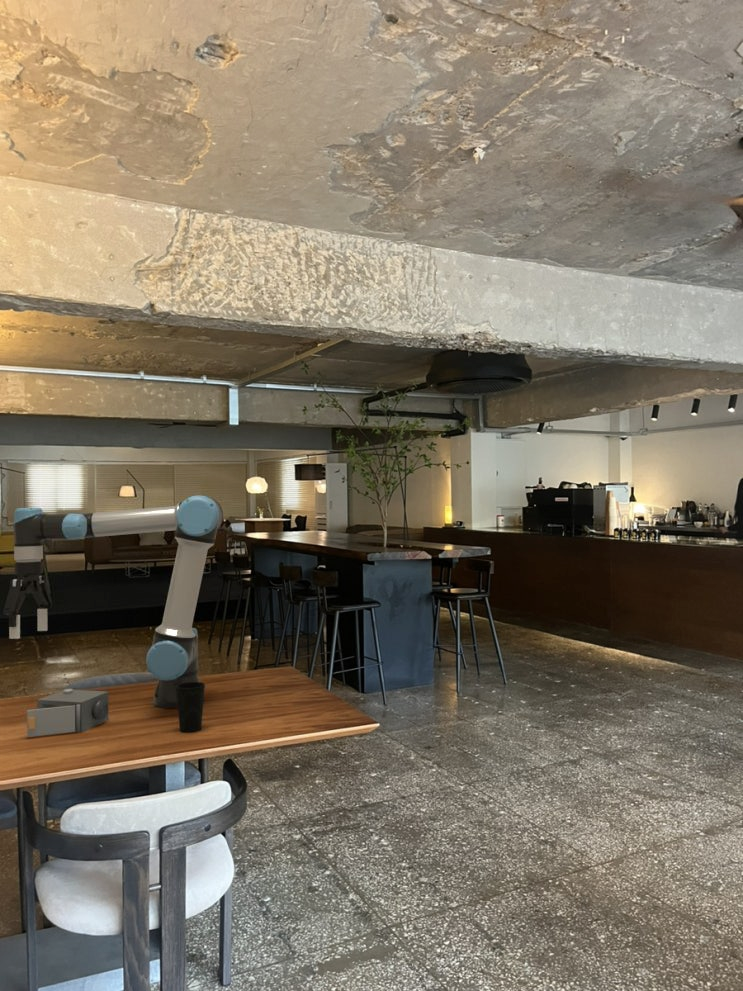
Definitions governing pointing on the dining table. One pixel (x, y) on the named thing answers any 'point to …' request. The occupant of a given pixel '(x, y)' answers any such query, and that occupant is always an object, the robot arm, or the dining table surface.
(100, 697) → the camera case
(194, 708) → the cup
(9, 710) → the dining table surface
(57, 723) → the side door
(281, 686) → the dining table surface
